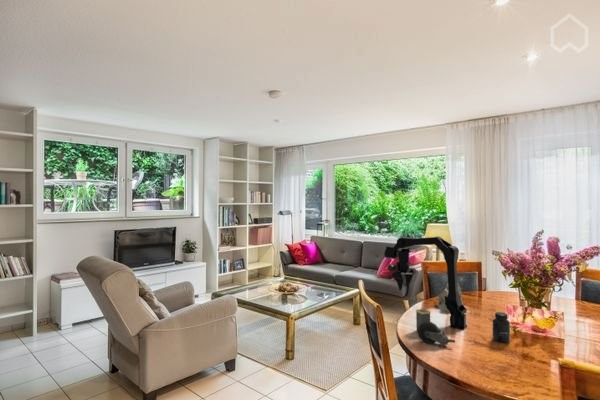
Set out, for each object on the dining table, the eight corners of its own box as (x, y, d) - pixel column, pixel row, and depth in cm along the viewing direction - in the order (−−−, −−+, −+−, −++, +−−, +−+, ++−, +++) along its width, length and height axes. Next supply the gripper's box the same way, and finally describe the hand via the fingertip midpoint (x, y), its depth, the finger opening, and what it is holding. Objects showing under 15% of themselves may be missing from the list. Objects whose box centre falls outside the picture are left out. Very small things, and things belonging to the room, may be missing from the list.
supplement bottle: (503, 344, 153) (503, 317, 153) (489, 339, 159) (488, 312, 159) (513, 341, 156) (513, 314, 156) (498, 336, 162) (498, 310, 162)
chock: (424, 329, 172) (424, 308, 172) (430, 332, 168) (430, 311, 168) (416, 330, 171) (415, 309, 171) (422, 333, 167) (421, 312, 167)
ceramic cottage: (445, 301, 217) (444, 277, 216) (469, 309, 203) (469, 284, 202) (428, 307, 209) (427, 282, 208) (452, 316, 195) (452, 289, 194)
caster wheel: (417, 345, 156) (454, 349, 148) (415, 323, 156) (451, 325, 149) (420, 340, 161) (456, 344, 153) (418, 319, 161) (453, 321, 153)
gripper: (397, 256, 206) (397, 283, 206) (382, 260, 192) (382, 289, 192) (416, 258, 199) (416, 286, 199) (401, 263, 184) (402, 292, 184)
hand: (404, 288), depth 194 cm, fingers open, 9 cm apart
